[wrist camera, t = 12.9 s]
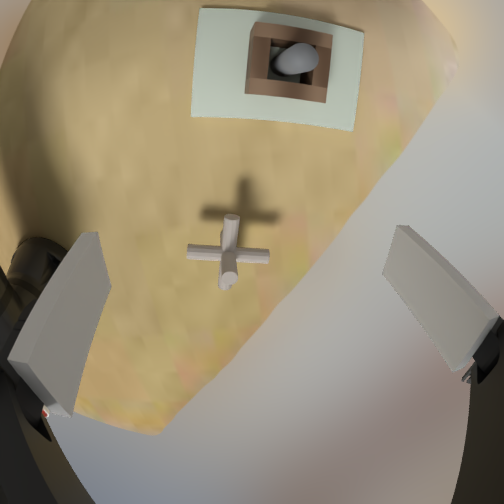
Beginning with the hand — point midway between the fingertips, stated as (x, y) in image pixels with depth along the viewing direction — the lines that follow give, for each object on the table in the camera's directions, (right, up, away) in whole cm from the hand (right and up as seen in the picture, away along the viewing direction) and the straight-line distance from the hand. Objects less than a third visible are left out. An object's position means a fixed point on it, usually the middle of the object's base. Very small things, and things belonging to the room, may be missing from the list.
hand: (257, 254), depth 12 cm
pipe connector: (-4, +3, +28) cm, 28 cm away
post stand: (+3, +22, +17) cm, 28 cm away
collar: (+3, +21, +16) cm, 27 cm away
